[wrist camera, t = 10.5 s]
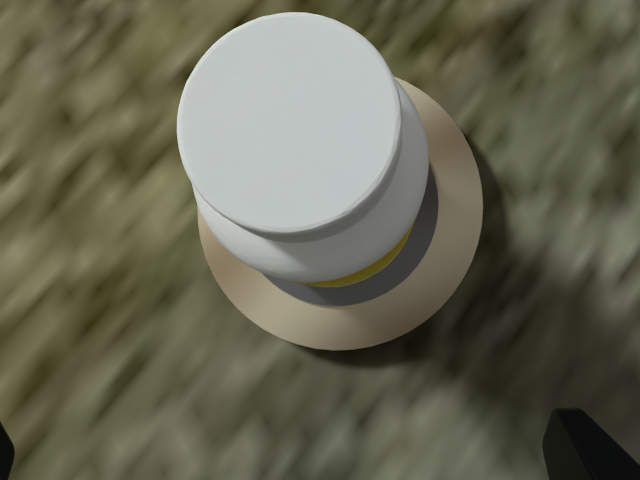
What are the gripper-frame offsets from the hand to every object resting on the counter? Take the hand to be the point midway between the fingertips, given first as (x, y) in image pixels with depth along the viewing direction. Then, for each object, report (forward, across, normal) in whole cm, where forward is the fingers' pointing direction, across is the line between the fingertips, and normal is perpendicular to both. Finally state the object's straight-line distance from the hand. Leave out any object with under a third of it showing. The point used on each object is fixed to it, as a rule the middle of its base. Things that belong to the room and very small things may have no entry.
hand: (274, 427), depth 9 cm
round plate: (+12, -1, +3) cm, 12 cm away
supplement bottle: (+11, -1, +3) cm, 11 cm away
